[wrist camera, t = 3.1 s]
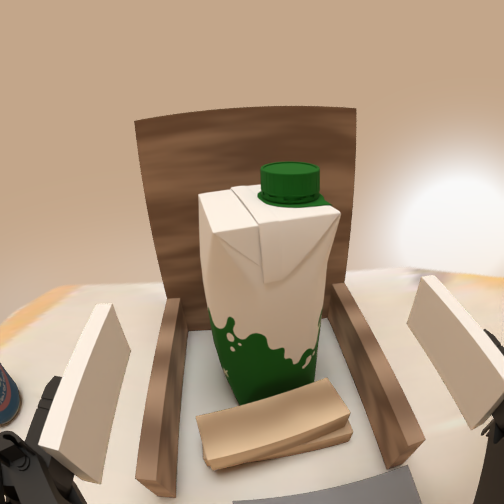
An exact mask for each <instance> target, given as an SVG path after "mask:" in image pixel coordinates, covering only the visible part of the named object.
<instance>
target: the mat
mask: <svg viewBox="0 0 504 504" xmlns="http://www.w3.org/2000/svg"><path fill="white" fill-rule="evenodd" d="M233 504H422V503H421V500H420V497H419V494H418V491H417V489H416V486H415V483H414V480H413V478H412V475H411V472H410V470H409V467H408V465H406V466H403V467H400V468H398V469H395V470H392V471H389V472H386V473H383V474H380V475H377V476H374V477H371V478H367V479H364V480H360V481H357V482H353V483H350V484H346V485H342V486H337V487H333V488H329V489H324V490H319V491H314V492H309V493H303V494H297V495H291V496H284V497H276V498H267V499H257V500H243V501H233Z"/></svg>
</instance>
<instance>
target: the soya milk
mask: <svg viewBox="0 0 504 504" xmlns="http://www.w3.org/2000/svg"><path fill="white" fill-rule="evenodd" d="M260 179H261V184H260V185H251V186H236V187H231V188H230V190H222V191H215V192H208V193H202V194H198V199H199V238H200V259H201V267H202V277H203V284H204V290H205V296H206V302H207V307H208V313H209V319H210V324H211V329H212V335H213V340H214V344H215V347H216V350H217V353H218V357H219V360H220V363H221V366H222V369H223V371H224V373H225V375H226V378H227V380H228V382H229V384H230V386H231V388H232V390H233V393H234V395H235V397H236V399H237V401H238V403H239V405H240V406H241V405H244V404H248V403H252V402H255V401H259V400H262V399H265V398H269V397H272V396H275V395H278V394H281V393H285V392H288V391H291V390H294V389H296V388H299V387H302V386H305V385H308V384H311V383H313V382H314V378H315V369H316V360H317V350H318V341H319V334H320V326H321V318H322V309H323V301H324V291H325V282H326V271H327V262H328V258H329V254H330V251H331V248H332V244H333V241H334V237H335V234H336V231H337V227H338V224H339V220H340V216H341V213H340V211H338V210H337V209H335V208H333V207H332V204H330V203H329V202H327V201H325V199H324V197H323V196H322V195H321V194H320V193H319V191H320V168H319V167H318V166H317V165H314V164H311V163H305V162H293V161H286V162H274V163H269V164H265V165H263V166H262V167H261V168H260Z"/></svg>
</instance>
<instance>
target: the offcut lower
mask: <svg viewBox="0 0 504 504" xmlns="http://www.w3.org/2000/svg"><path fill="white" fill-rule="evenodd" d="M352 434H353V430H352V428H351V425H350V423H349V420H348V421H347V423H346V425H345V427H343V428H341V429H339V430H336V431H334V432H332V433H329V434H327V435H325V436H322V437H320V438H317V439H315V440H312V441H310V442H307V443H304V444H302V445H299V446H296V447H294V448H291V449H288V450H285V451H282V452H279V453H276V454H273V455H270V456H267V457H263V458H260V459H257V460H253V461H250V462H255V461H262V460H269V459H275V458H281V457H286V456H291V455H296V454H301V453H305V452H310V451H314V450H318V449H322V448H326V447H330V446H334V445H338V444H341V443H345V442H348V441H349V440H350V438H351V436H352ZM202 446H203V443H202ZM203 459H204V461H205V463H206V464H207V466H210V464H209V462H208V460H207V457H206V454H205V450H204V446H203ZM246 463H248V462H246Z"/></svg>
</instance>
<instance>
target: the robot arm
mask: <svg viewBox="0 0 504 504" xmlns="http://www.w3.org/2000/svg"><path fill="white" fill-rule="evenodd" d="M407 325H408V327H409V328H410V330H411V331H412V333H413V334H414V336H415V337H416V339H417V340H418V342H419V343H420V345H421V346H422V348H423V349H424V351H425V353H426V354H427V356H428V357H429V359H430V360H431V362H432V364H433V365H434V367H435V369H436V370H437V372H438V373H439V375H440V377H441V378H442V380H443V382H444V383H445V385H446V387H447V388H448V390H449V392H450V394H451V395H452V397H453V399H454V401H455V402H456V404H457V406H458V408H459V410H460V411H461V413H462V415H463V417H464V419H465V420H466V422H467V424H468V426H469V428H470V430H472V429H474V428H476V427H478V426H480V425H481V424H483V423H484V422H485V421H486V420H487V419H488V418H489V417H490V416H491V414H492V416H493V418H494V419H493V420H492V421H491V422H490V423H489V424H488V425H487V426H486V427H485V428H484V429H483V431H482V433H481V435H482V436H483V435H484V434H485V433H486V432H487V431H488V430H489V429H490V430H489V432H488V433H487V434H486V436H487V437H488V443H487V449H486V454H485V459H484V464H483V469H482V473H481V477H480V481H479V485H478V489H477V492H476V496H475V499H474V503H473V504H504V347H503V346H501V344H500V342H499V341H498V340H497V339H496V337H495V336H494V335H493V334H491V333H490V332H488V331H487V330H486V329H484V330H483V329H482V328H481V327H480V326H479V324H478V323H477V322H476V321H475V320H474V319H473V317H472V316H471V315H470V314H469V313H468V312H467V310H466V309H465V308H464V307H463V306H462V305H461V304H460V303H459V301H458V300H457V299H456V298H455V297H454V296H453V295H452V294H451V293H450V292H449V290H448V289H447V288H446V287H445V286H444V285H443V284H442V283H441V282H440V281H439V280H438V279H437V278H436V277H435V276H434V275H430V276H423V277H421V279H420V283H419V286H418V290H417V293H416V296H415V300H414V303H413V306H412V309H411V312H410V315H409V318H408V321H407ZM130 353H131V350H130V347H129V345H128V343H127V340H126V338H125V335H124V333H123V330H122V328H121V325H120V323H119V320H118V317H117V315H116V312H115V309H114V307H113V304H112V303H110V304H96V306H95V307H94V309H93V311H92V313H91V315H90V317H89V319H88V322H87V324H86V326H85V328H84V330H83V332H82V334H81V336H80V338H79V340H78V343H77V345H76V347H75V349H74V351H73V354H72V356H71V358H70V360H69V363H68V365H67V367H66V370H65V372H64V375H63V377H58V376H54V377H53V378H52V379H51V381H50V382H49V383H48V384H47V385H46V387H45V389H44V392H43V394H42V397H41V398H42V399H41V400H40V401H39V404H38V409H36V412H35V414H34V417H33V420H32V422H31V425H30V428H29V431H28V434H27V437H26V440H25V442H24V441H23V440H22V439H21V438H20V437H19V436H18V435H16V434H15V433H14V432H12V431H4V432H1V433H0V504H87V502H86V501H85V499H84V497H83V496H82V494H81V492H80V490H79V489H78V487H77V485H76V484H75V482H74V481H73V477H74V475H76V476H77V477H78V478H80V479H81V480H84V481H88V482H92V483H97V484H101V482H102V476H103V470H104V464H105V458H106V453H107V448H108V443H109V438H110V433H111V428H112V424H113V419H114V415H115V411H116V406H117V402H118V398H119V394H120V390H121V386H122V382H123V378H124V375H125V371H126V367H127V363H128V360H129V356H130ZM4 495H5V496H6V502H5V497H4Z"/></svg>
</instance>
